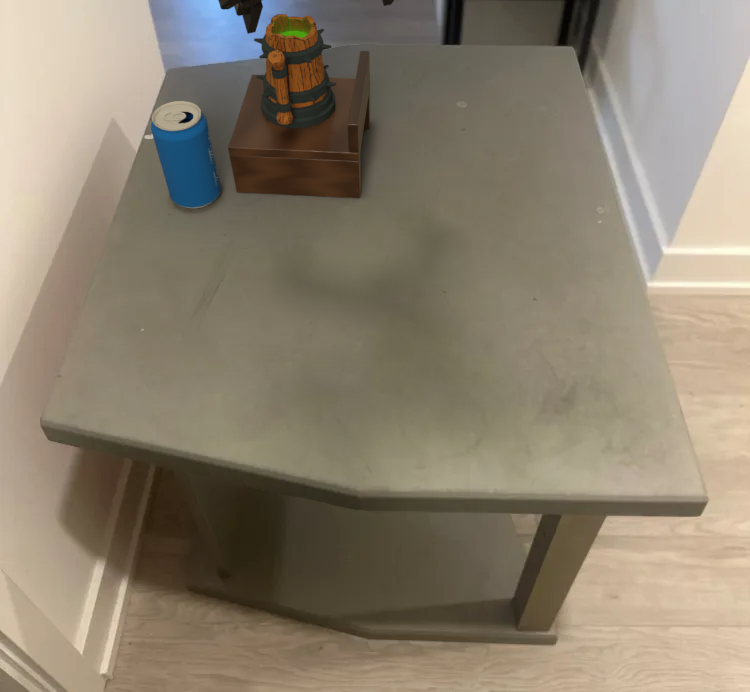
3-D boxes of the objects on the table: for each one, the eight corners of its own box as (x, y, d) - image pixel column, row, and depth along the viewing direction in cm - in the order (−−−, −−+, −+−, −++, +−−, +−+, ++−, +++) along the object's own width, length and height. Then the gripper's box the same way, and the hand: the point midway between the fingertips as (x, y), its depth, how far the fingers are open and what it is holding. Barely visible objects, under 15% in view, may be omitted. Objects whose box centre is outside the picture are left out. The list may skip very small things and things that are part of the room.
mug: (270, 80, 99) (259, -6, 90) (345, 87, 98) (341, 1, 89) (243, 139, 91) (227, 51, 82) (324, 147, 90) (318, 60, 81)
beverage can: (217, 213, 93) (198, 132, 84) (166, 211, 93) (142, 131, 84) (225, 179, 97) (209, 99, 88) (177, 178, 97) (155, 98, 88)
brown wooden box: (236, 192, 95) (222, 119, 87) (258, 118, 105) (247, 46, 97) (359, 198, 95) (357, 124, 86) (370, 123, 104) (369, 50, 96)
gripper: (207, -21, 47) (199, 71, 68) (550, -84, 53) (446, 19, 73) (171, -145, 46) (174, -13, 67) (525, -196, 52) (427, -60, 72)
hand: (316, 4), depth 70 cm, fingers open, 13 cm apart
